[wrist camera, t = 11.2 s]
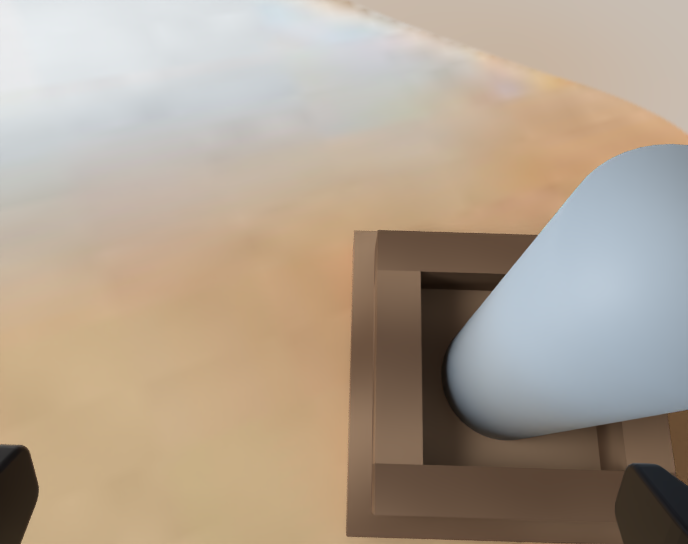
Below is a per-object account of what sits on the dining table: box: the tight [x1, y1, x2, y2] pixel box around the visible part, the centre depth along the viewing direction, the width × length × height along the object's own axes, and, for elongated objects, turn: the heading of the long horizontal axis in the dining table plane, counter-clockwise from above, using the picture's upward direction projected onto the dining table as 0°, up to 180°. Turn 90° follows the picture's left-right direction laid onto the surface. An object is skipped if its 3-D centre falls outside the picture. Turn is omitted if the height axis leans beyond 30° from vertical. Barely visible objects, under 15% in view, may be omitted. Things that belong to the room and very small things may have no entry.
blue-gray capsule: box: [441, 144, 688, 441], centre depth 16 cm, size 4×4×12 cm
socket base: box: [346, 230, 676, 544], centre depth 21 cm, size 11×11×4 cm
